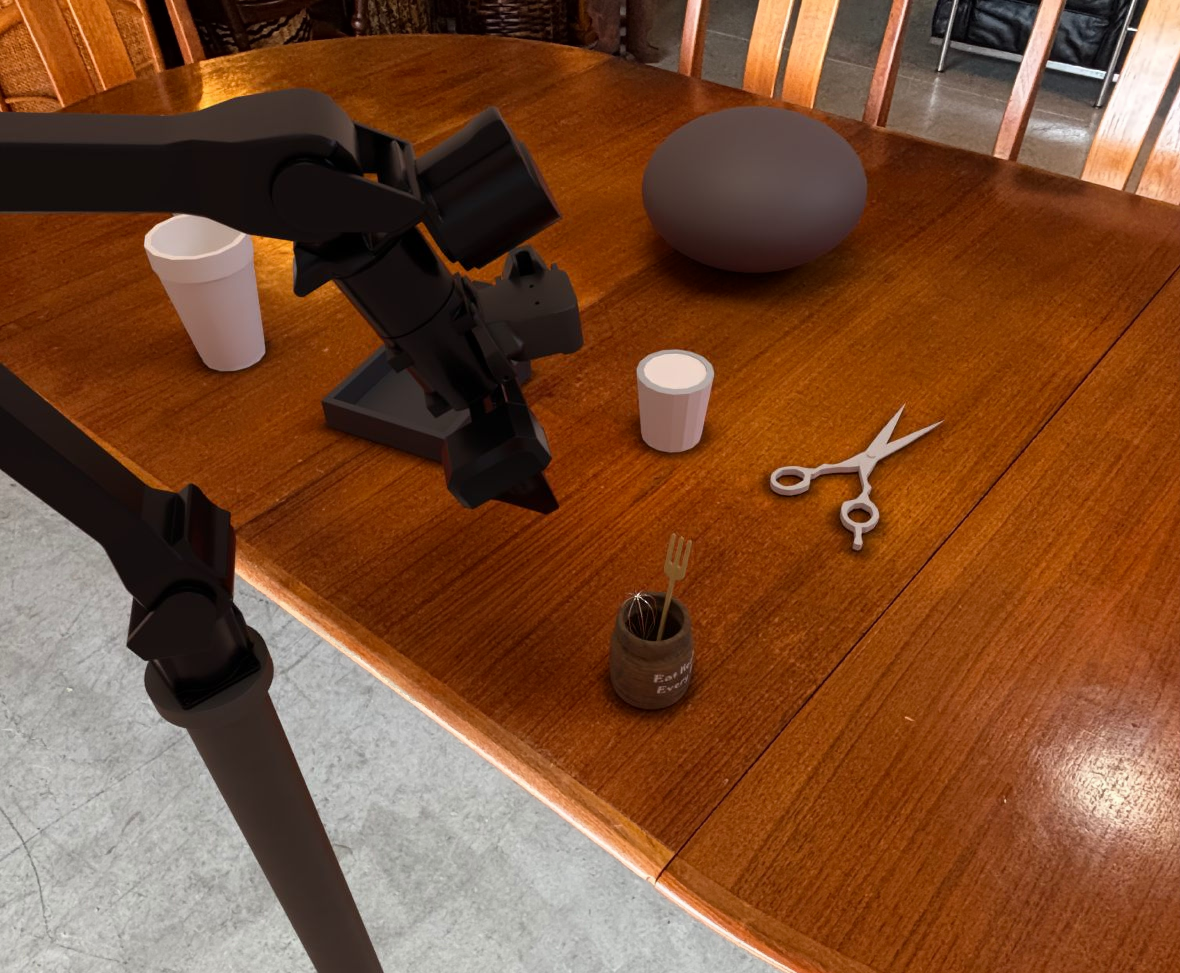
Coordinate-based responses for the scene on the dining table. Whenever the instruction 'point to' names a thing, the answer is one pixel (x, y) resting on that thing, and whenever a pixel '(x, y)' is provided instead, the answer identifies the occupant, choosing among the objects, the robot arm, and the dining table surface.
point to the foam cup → (210, 287)
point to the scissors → (857, 463)
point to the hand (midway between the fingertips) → (540, 466)
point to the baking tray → (394, 408)
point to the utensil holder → (653, 642)
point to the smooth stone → (754, 189)
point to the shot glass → (673, 398)
